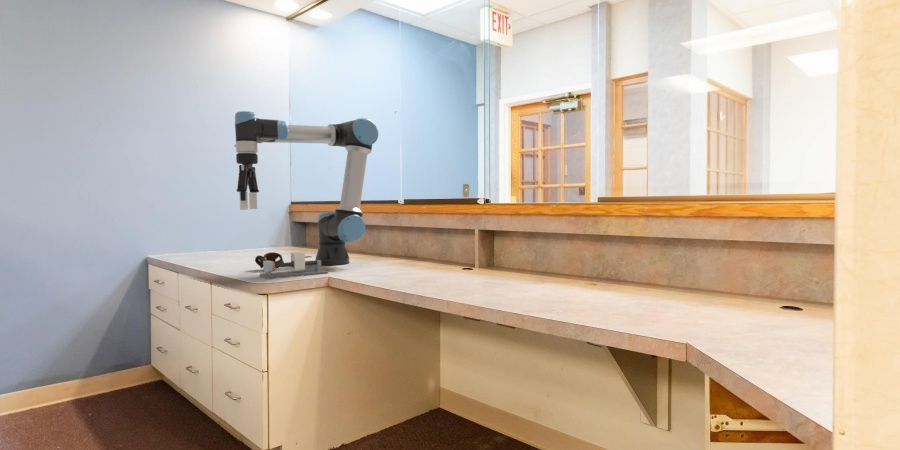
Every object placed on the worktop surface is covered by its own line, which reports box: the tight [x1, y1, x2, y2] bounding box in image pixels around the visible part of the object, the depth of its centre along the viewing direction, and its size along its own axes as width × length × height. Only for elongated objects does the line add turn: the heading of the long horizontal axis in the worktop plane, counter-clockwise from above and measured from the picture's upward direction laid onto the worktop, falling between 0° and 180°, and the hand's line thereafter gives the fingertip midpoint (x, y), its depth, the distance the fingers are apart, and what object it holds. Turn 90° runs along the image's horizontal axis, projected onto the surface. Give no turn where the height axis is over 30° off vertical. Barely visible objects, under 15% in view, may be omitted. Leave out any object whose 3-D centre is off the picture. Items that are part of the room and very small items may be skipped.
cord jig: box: [259, 259, 329, 279], centre depth 196 cm, size 23×10×6 cm, turn 125°
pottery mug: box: [254, 251, 285, 269], centre depth 210 cm, size 12×10×8 cm
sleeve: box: [290, 251, 306, 271], centre depth 197 cm, size 4×5×6 cm
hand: (249, 209), depth 194 cm, fingers open, 13 cm apart
